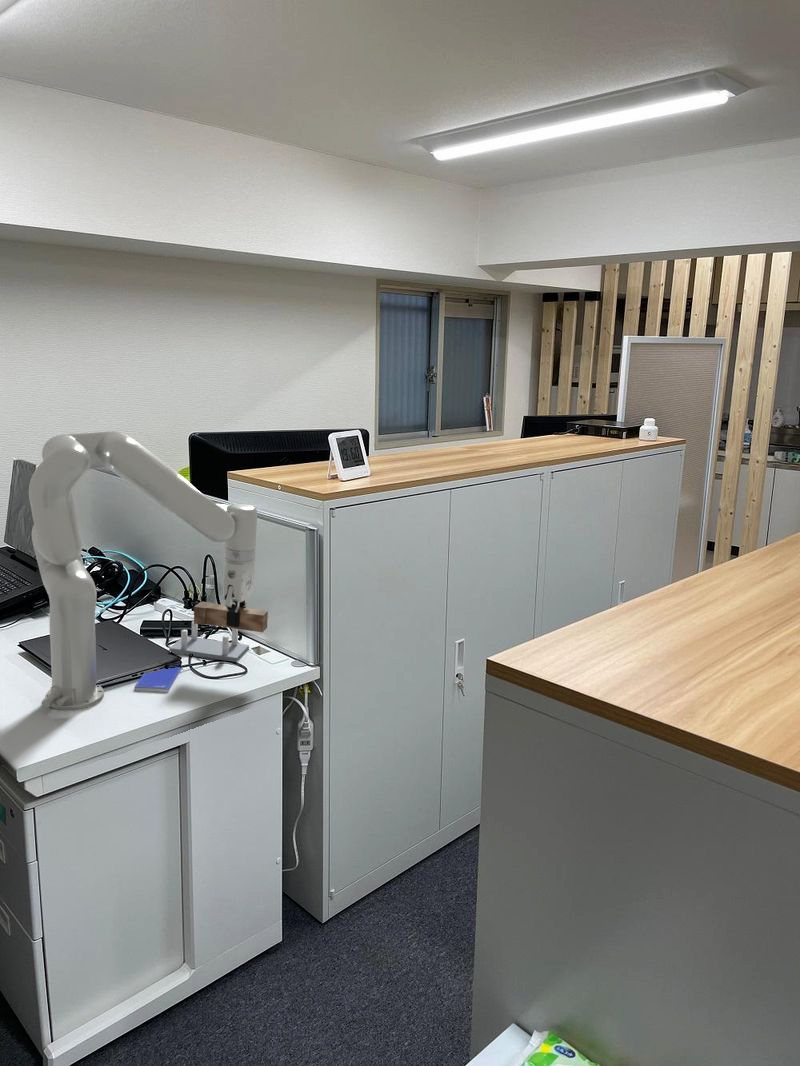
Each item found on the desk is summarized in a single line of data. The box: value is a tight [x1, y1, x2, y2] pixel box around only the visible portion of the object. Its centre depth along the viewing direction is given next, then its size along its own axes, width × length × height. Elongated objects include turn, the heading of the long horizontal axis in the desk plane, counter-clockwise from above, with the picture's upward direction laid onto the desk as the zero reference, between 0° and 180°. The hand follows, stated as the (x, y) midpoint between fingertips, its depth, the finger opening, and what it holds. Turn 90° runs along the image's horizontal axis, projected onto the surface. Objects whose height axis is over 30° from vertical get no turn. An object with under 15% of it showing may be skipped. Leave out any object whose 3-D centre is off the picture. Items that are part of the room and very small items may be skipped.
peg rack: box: [168, 620, 250, 663], centre depth 214 cm, size 19×9×6 cm, turn 80°
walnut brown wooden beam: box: [193, 601, 269, 633], centre depth 200 cm, size 18×4×4 cm, turn 80°
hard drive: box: [133, 666, 182, 693], centre depth 195 cm, size 2×8×12 cm
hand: (235, 622), depth 200 cm, fingers closed on walnut brown wooden beam, 3 cm apart
